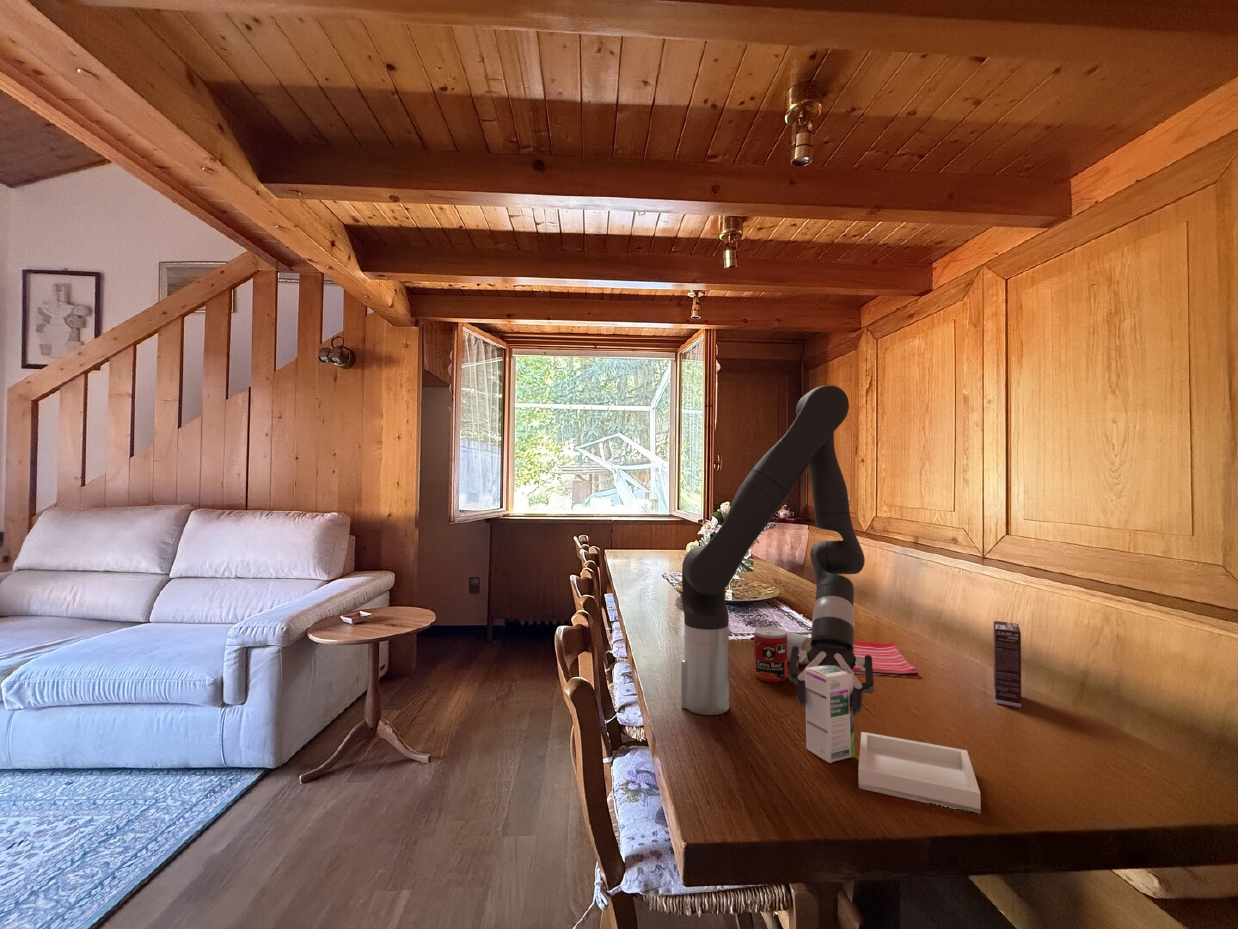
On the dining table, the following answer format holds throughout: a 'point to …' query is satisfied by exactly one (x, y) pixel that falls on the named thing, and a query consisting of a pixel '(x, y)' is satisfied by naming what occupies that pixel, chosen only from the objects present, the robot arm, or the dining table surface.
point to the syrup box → (829, 712)
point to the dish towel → (883, 659)
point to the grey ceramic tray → (918, 772)
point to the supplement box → (1007, 663)
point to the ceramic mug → (797, 644)
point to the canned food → (770, 654)
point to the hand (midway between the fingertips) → (828, 709)
